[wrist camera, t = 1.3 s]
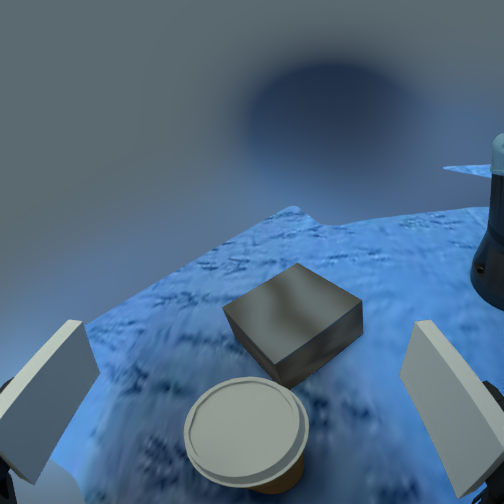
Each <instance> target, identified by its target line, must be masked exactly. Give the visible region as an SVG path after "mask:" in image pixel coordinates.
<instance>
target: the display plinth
mask: <svg viewBox="0 0 504 504" xmlns="http://www.w3.org/2000/svg"><path fill="white" fill-rule="evenodd" d="M222 308H223V311H224V313H225V315H226V317H227V320H228V322H229V324H230V326H231V329H232V331H233V333H234V335H235V337H236V338H237V339H238V341H239V342H240V343H241V344H242V345H243V346H244V348H245V349H246V350H247V351H248V352H249V353H250V354H251V356H252V357H253V358H254V359H255V360H256V361H257V362H258V363H259V365H260V366H261V367H262V368H263V369H264V370H265V371H266V372H267V374H268V375H269V376H270V377H271V378H272V379H273V380H274V381H275V382H276V383H277V384H279V385H281V386H283V387H285V388H287V389H288V390H290V389H291V388H293V387H294V386H296V385H297V384H298V383H300V382H301V381H303V380H304V379H305V378H307V377H308V376H310V375H311V374H312V373H314V372H315V371H316V370H318V369H319V368H320V367H322V366H323V365H324V364H326V363H327V362H328V361H330V360H331V359H332V358H333V357H335V356H336V355H337V354H338V353H340V352H341V351H342V350H343V349H345V348H346V347H347V346H348V345H350V344H351V343H352V342H353V341H354V340H356V339H357V338H358V337H359V336H360V335H362V334H363V311H362V300H361V299H359V298H357V297H355V296H354V295H352V294H350V293H349V292H347V291H345V290H343V289H342V288H340V287H338V286H337V285H335V284H333V283H331V282H330V281H328V280H326V279H325V278H323V277H321V276H319V275H318V274H316V273H314V272H312V271H311V270H309V269H307V268H306V267H304V266H302V265H300V264H299V263H296V264H295V265H293V266H291V267H290V268H288V269H286V270H285V271H283V272H281V273H280V274H278V275H276V276H275V277H273V278H271V279H270V280H268V281H266V282H265V283H263V284H261V285H260V286H258V287H256V288H255V289H253V290H251V291H249V292H248V293H246V294H244V295H243V296H241V297H239V298H237V299H236V300H234V301H232V302H231V303H229V304H227V305H225V306H224V307H222Z"/></svg>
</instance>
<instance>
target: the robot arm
mask: <svg viewBox="0 0 504 504" xmlns="http://www.w3.org/2000/svg"><path fill="white" fill-rule="evenodd" d="M490 171H491V172H492V182H491V197H490V209H489V219H488V227H487V231H486V233H485V235H484V237H483V239H482V241H481V243H480V245H479V247H478V249H477V251H476V253H475V255H474V258H473V261H472V267H471V280H472V283H473V286H474V287H475V289H476V291H477V292H478V293H479V294H480V295H481V296H482V297H483V298H484V299H485V300H486V301H488V302H489V303H490V304H492V305H494V306H496V307H498V308H500V309H503V310H504V133H502V134H500V135H499V136H497V137H496V138H495V140H494V142H493V146H492V164H491V166H490ZM99 374H100V371H99V369H98V366H97V363H96V361H95V358H94V355H93V352H92V349H91V346H90V343H89V340H88V337H87V334H86V331H85V328H84V325H83V322H82V321H74V320H68V321H67V322H66V323H65V324H64V325H63V326H62V327H61V328H60V329H59V330H58V331H57V332H56V333H55V334H54V335H53V336H52V337H51V338H50V339H49V340H48V341H47V342H46V344H45V345H44V346H43V347H42V348H41V349H40V350H39V351H38V352H37V353H36V354H35V355H34V356H33V357H32V359H31V360H30V361H29V362H28V363H27V364H26V365H25V366H24V368H22V370H21V371H20V372H19V373H18V374H17V375H16V376H15V377H13V378H12V379H10V380H9V381H7V382H6V383H4V384H3V386H2V387H1V388H0V504H17V501H16V496H15V492H14V487H13V481H12V478H11V475H10V474H9V473H8V471H9V469H10V468H11V469H12V470H13V471H14V472H15V473H16V474H17V475H18V476H19V477H20V478H21V479H23V480H25V481H27V482H29V483H30V484H32V485H35V483H36V481H37V480H38V478H39V476H40V474H41V472H42V470H43V468H44V467H45V465H46V463H47V461H48V459H49V457H50V456H51V454H52V452H53V450H54V448H55V447H56V445H57V443H58V441H59V440H60V438H61V436H62V434H63V433H64V431H65V429H66V428H67V426H68V424H69V423H70V421H71V419H72V418H73V416H74V414H75V413H76V411H77V409H78V408H79V406H80V404H81V403H82V401H83V399H84V398H85V396H86V395H87V393H88V391H89V390H90V388H91V387H92V385H93V383H94V382H95V380H96V379H97V377H98V376H99ZM399 376H400V378H401V380H402V382H403V384H404V386H405V387H406V389H407V391H408V393H409V395H410V397H411V399H412V401H413V403H414V405H415V407H416V409H417V411H418V413H419V415H420V417H421V419H422V421H423V423H424V425H425V427H426V429H427V431H428V433H429V435H430V438H431V440H432V442H433V444H434V446H435V448H436V450H437V453H438V455H439V457H440V459H441V461H442V464H443V466H444V468H445V471H446V473H447V475H448V478H449V480H450V482H451V485H452V487H453V489H454V492H455V494H456V497H457V499H459V498H461V497H463V496H466V495H468V494H470V493H472V492H474V491H476V490H477V489H478V488H479V487H480V486H481V485H482V484H483V483H484V482H486V484H487V487H486V488H485V489H484V490H483V491H482V492H481V493H480V494H479V495H478V496H476V497H475V498H474V500H473V502H472V503H471V504H475V503H476V502H477V501H478V500H479V499H480V498H481V497H482V498H481V501H480V502H479V503H478V504H504V397H503V395H502V394H501V393H500V391H499V390H498V389H497V388H496V387H495V386H493V385H492V384H490V383H489V382H488V381H484V382H481V380H480V379H479V378H478V377H477V375H476V374H475V373H474V371H473V370H472V369H471V368H470V366H469V365H468V364H467V363H466V361H465V360H464V359H463V358H462V356H461V355H460V354H459V353H458V351H457V350H456V349H455V348H454V347H453V345H452V344H451V343H450V342H449V341H448V339H447V338H446V337H445V336H444V335H443V334H442V332H441V331H440V330H439V329H438V328H437V327H436V325H435V324H434V323H433V322H432V321H431V320H423V321H415V323H414V327H413V330H412V334H411V338H410V341H409V345H408V348H407V352H406V355H405V358H404V361H403V365H402V368H401V371H400V374H399Z"/></svg>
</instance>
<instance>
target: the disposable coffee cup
mask: <svg viewBox="0 0 504 504" xmlns="http://www.w3.org/2000/svg"><path fill="white" fill-rule="evenodd" d="M308 433H309V423H308V417H307V414H306V411H305V408H304V406H303V404H302V403H301V401H300V400H299V399H298V398H297V397H296V395H295V394H293V393H292V392H291V391H289V390H288V389H287V388H285V387H283V386H281V385H279V384H277V383H276V382H273V381H270V380H267V379H265V378H257V377H242V378H234V379H231V380H228V381H225V382H222V383H220V384H218V385H216V386H214V387H213V388H211V389H209V390H208V391H207V392H205V393H204V394H203V395H202V396H201V397H200V398H199V399H198V400H197V402H196V403H195V404H194V405H193V407H192V408H191V410H190V412H189V414H188V416H187V418H186V422H185V426H184V439H185V445H186V450H187V454H188V457H189V459H190V460H191V462H192V464H193V466H194V467H195V468H196V469H197V470H198V471H199V472H200V473H201V474H202V475H203V476H205V477H206V478H208V479H210V480H211V481H213V482H216V483H218V484H221V485H224V486H228V487H242V488H247V489H250V490H254V491H258V492H261V493H264V494H279V493H283V492H285V491H288V490H289V489H291V488H293V487H294V486H295V485H296V484H297V483H298V482H299V480H300V479H301V477H302V475H303V472H304V448H305V445H306V443H307V438H308Z"/></svg>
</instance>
